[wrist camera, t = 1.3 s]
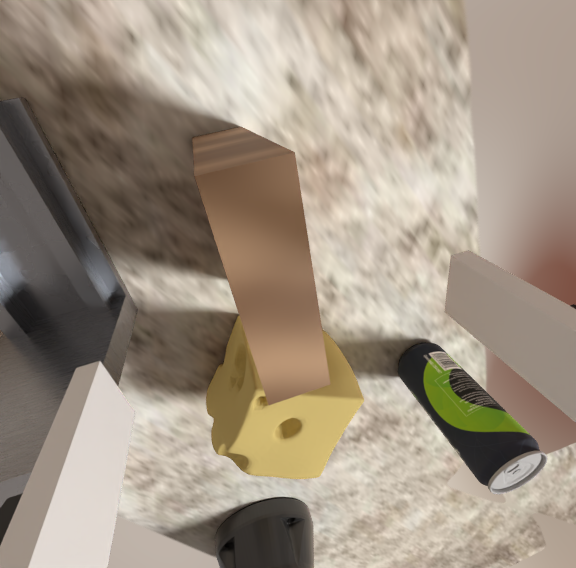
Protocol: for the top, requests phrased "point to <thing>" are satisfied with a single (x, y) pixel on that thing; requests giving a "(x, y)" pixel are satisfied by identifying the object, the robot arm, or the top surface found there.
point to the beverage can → (471, 420)
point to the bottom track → (47, 294)
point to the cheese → (278, 415)
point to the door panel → (264, 255)
